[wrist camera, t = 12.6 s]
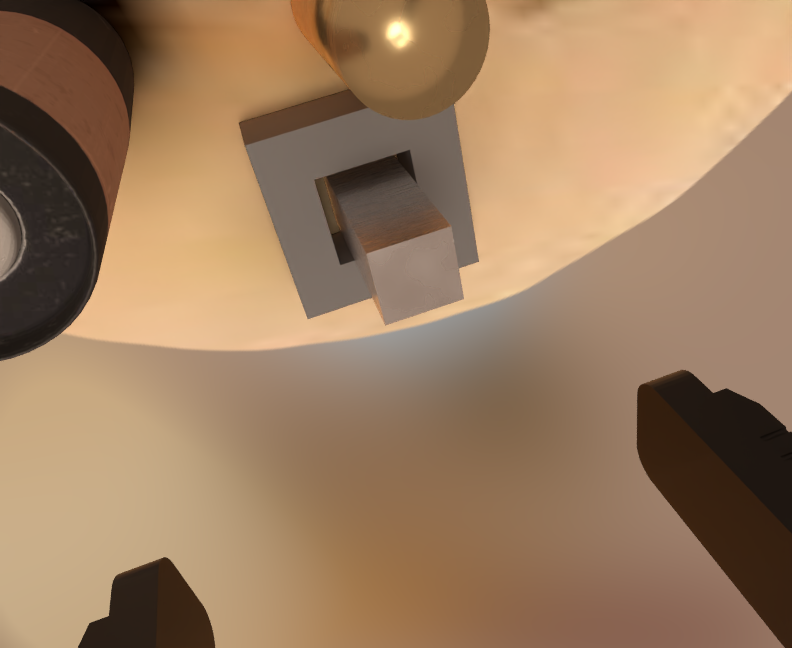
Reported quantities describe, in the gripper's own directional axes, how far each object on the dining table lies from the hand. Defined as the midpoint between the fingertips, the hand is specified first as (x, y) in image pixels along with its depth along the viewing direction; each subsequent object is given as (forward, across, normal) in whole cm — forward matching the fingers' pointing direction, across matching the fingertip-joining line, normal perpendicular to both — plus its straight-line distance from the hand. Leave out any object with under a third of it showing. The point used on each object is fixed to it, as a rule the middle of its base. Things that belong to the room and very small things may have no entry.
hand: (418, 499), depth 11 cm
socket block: (+30, -4, +8) cm, 31 cm away
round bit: (+30, -6, -2) cm, 31 cm away
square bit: (+30, -4, +8) cm, 31 cm away
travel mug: (+30, +9, -3) cm, 32 cm away
